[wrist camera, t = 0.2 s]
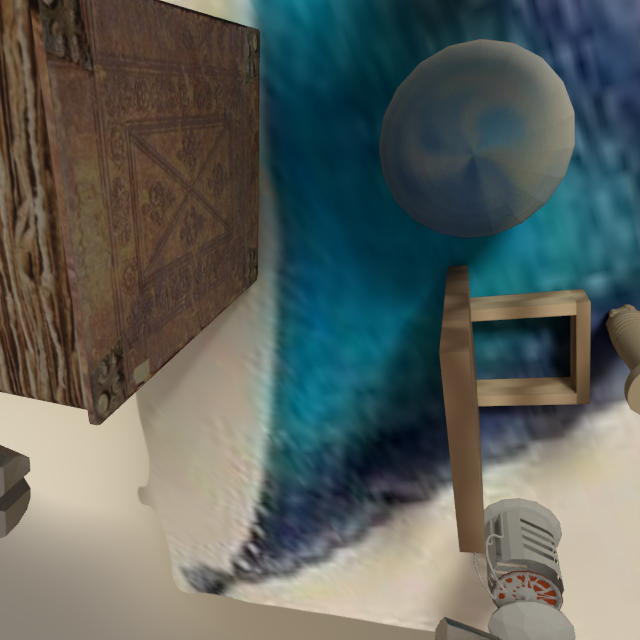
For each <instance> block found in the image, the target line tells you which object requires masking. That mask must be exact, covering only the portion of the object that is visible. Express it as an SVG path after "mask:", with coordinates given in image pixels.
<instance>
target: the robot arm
mask: <svg viewBox="0 0 640 640" xmlns="http://www.w3.org/2000/svg"><path fill="white" fill-rule="evenodd" d="M29 471H30V460H29V457H27V456H25V455H22V454H20V453H18V452H15V451H13V450H11V449H8V448H5V447H4V446H1V445H0V538H2V537H5V536H6V535H7V534H8V533H9V532H10V531H11V530H12V529H13V528H14V527H15V526H16V525H17V524H18V523H19V521H20V520H21V518H22V516H23V515H24V513H25V512H26V510H27V507H28V504H29V501H30V487H29V485H28V483H27V482H26V480H25V479H24V476H25V475H26V474H27V473H28V472H29ZM435 640H503V639H500V638H499V637H497V636H494V635H492V634H489V633H486V632H484V631H481V630H478V629H476V628H473V627H470V626H468V625H465V624H462V623H459V622H457V621H454V620H451V619H449V618H446V617H444V618H443V619H442V620H440V622H439V624H438V626H437V628H436V631H435Z"/></svg>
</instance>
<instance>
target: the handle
mask: <svg viewBox="0 0 640 640" xmlns="http://www.w3.org/2000/svg"><path fill="white" fill-rule="evenodd" d="M606 327H607V330H608V331H609V335H610V339H611V341H612V344H613V346H614V348H615V349H616V351H617V353H618V354H619V356H620V357H621V358H622V360H623V361H624V362H625V364H626V365H627V366H628V368H629V369H630V370H631V373H630V374H629V376H628V378H627V380H626V383H625V388H624V394H625V397H626V400H627V402H628V404H629V406H630V408H631V410H633V411H635V412H636V413H638V414H640V311H637V310H636V309H635V308H634V307H633V306H631V305H624V306H623V307H621V308H618V309H611V310H610V311H609V318H608V320H607V321H606Z"/></svg>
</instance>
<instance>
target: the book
mask: <svg viewBox="0 0 640 640" xmlns="http://www.w3.org/2000/svg"><path fill="white" fill-rule="evenodd" d="M259 62H260V31H259V30H258V29H255V28H252V27H248V26H245V25H241V24H238V23H235V22H231V21H228V20H225V19H221V18H218V17H214V16H211V15H208V14H204V13H201V12H197V11H194V10H191V9H187V8H184V7H181V6H177V5H174V4H170V3H167V2H164V1H160V0H0V392H4V393H9V394H13V395H18V396H23V397H28V398H32V399H37V400H43V401H47V402H52V403H57V404H61V405H66V406H71V407H77V408H81V409H86V410H88V416H89V422H90V424H94V425H100V424H101V423H103V422H104V421H105V420H106V419H107V418H108V417H109V416H110V415H111V414H112V413H113V412H114V411H115V410H116V409H118V408H119V407H120V406H121V405H122V404H123V403H124V402H125V401H126V400H127V399H128V398H130V397H131V396H132V395H133V394H134V393H135V392H136V391H137V390H138V389H139V388H140V387H142V386H143V385H144V384H145V383H146V382H147V381H148V380H149V379H150V378H151V377H152V376H153V375H154V374H156V373H157V372H158V371H159V370H160V369H161V368H162V367H163V366H164V365H165V364H166V363H167V362H169V361H170V360H171V359H172V358H173V357H174V356H175V355H176V354H177V353H178V352H179V351H180V350H182V349H183V348H184V347H185V346H186V345H187V344H188V343H189V342H190V341H191V340H192V339H193V338H194V337H196V336H197V335H198V334H199V333H200V332H201V331H202V330H203V329H204V328H205V327H206V326H207V325H209V324H210V323H211V322H212V321H213V320H214V319H215V318H216V317H217V316H218V315H219V314H220V313H221V312H223V311H224V310H225V309H226V308H227V307H228V306H229V305H230V304H231V303H232V302H233V301H234V300H236V299H237V298H238V297H239V296H240V295H241V294H242V293H243V292H244V291H245V290H246V289H247V288H248V287H250V286H251V285H252V284H253V283H254V282H255V281H256V280H257V275H258V184H259Z"/></svg>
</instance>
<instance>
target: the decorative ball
mask: <svg viewBox="0 0 640 640" xmlns="http://www.w3.org/2000/svg"><path fill="white" fill-rule="evenodd" d="M574 146H575V122H574V110H573V107H572V104H571V102H570V99H569V96H568V94H567V91H566V88H565V86H564V83H563V81H562V80H561V79H560V78H559V77H558V75H557V74H556V73H555V72H554V71H553V70H552V69H551V67H550V66H549V65H548V64H547V63H546V62H545V61H544V59H543V58H541V57H539V56H537V55H536V54H534V53H532V52H530V51H528V50H526V49H524V48H522V47H520V46H518V45H516V44H514V43H510V42H502V41H493V40H485V39H478V40H474V41H469V42H465V43H460V44H456V45H451V46H448V47H446V48H445V49H443V50H441V51H439V52H438V53H436V54H434V55H433V56H431V57H429V58H427V59H426V60H424V61H422V62H421V63H420V64H419V65H418V66H417V67H416V68H415V69H414V70H413V71H412V72H411V73H410V74H409V75H408V77H407V78H406V79H405V80H404V81H403V82H402V83H401V84H400V85H399V86H398V88H397V90H396V92H395V94H394V96H393V98H392V100H391V102H390V104H389V106H388V108H387V110H386V112H385V114H384V117H383V123H382V129H381V135H380V141H379V151H380V159H381V166H382V173H383V176H384V179H385V181H386V183H387V185H388V187H389V189H390V191H391V193H392V195H393V197H394V199H395V201H396V202H397V203H398V204H399V205H400V206H401V207H402V208H403V209H404V210H405V211H406V212H407V213H408V214H409V215H410V216H411V218H412V219H413V220H415V221H417V222H419V223H421V224H422V225H424V226H426V227H428V228H430V229H432V230H434V231H435V232H437V233H441V234H446V235H452V236H457V237H463V238H470V237H479V236H488V235H495V234H497V233H499V232H502V231H504V230H507V229H509V228H511V227H514V226H516V225H518V224H521V223H522V222H524V221H525V220H526V219H527V218H529V217H530V216H531V215H532V214H533V213H535V212H536V211H537V210H538V209H540V208H541V207H542V206H543V205H544V204H546V203H547V201H548V200H549V199H550V197H551V196H552V194H553V193H554V191H555V190H556V188H557V187H558V185H559V184H560V182H561V181H562V180H563V178H564V177H565V174H566V171H567V168H568V165H569V162H570V158H571V155H572V152H573V149H574Z"/></svg>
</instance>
